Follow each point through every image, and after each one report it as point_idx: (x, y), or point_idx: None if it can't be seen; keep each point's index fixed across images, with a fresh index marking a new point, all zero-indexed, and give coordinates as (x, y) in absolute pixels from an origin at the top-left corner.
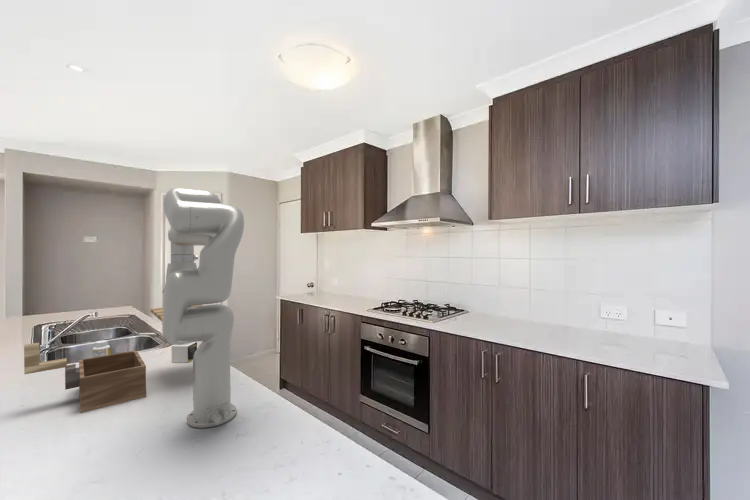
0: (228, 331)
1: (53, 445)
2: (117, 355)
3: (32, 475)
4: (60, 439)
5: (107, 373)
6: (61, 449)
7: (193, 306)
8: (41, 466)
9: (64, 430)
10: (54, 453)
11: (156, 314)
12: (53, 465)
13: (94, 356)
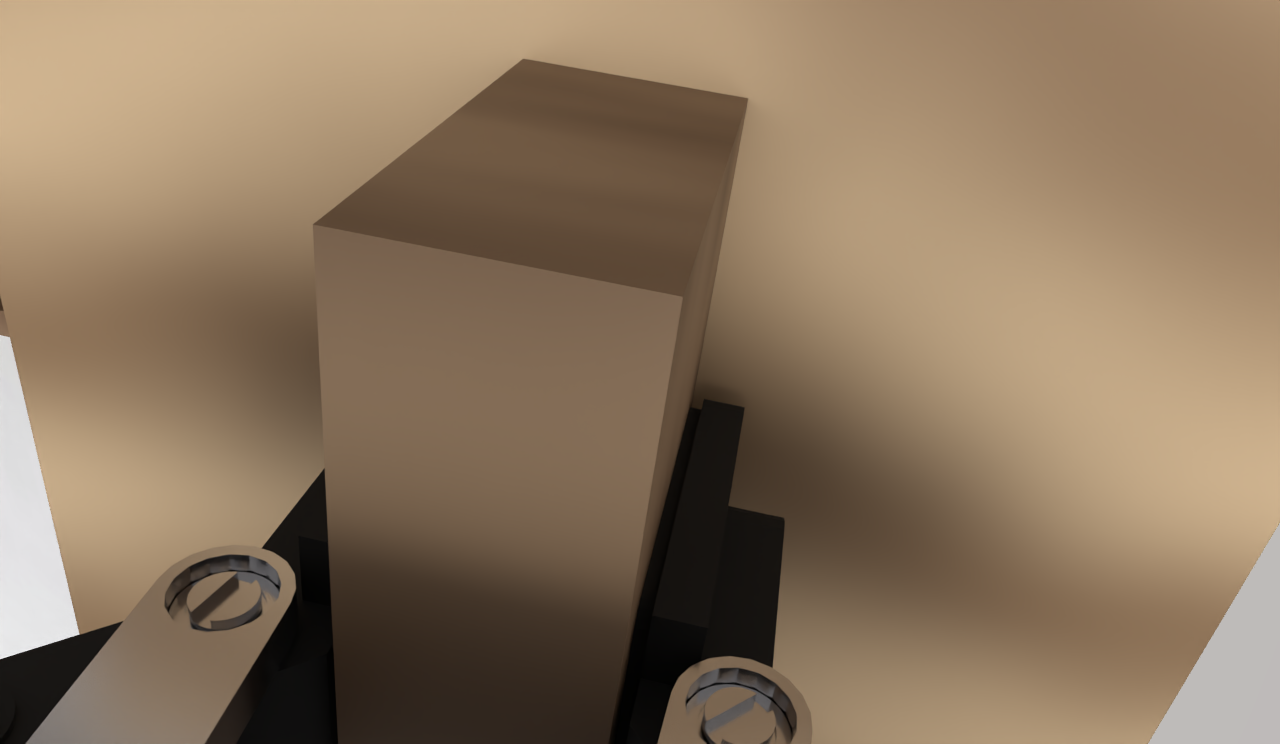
0: None
1: (11, 488)
2: None
3: (8, 638)
4: (23, 456)
5: (6, 335)
6: (49, 545)
7: (1126, 89)
8: (17, 608)
9: (15, 376)
10: (33, 555)
11: (41, 395)
12: (53, 631)
13: None
